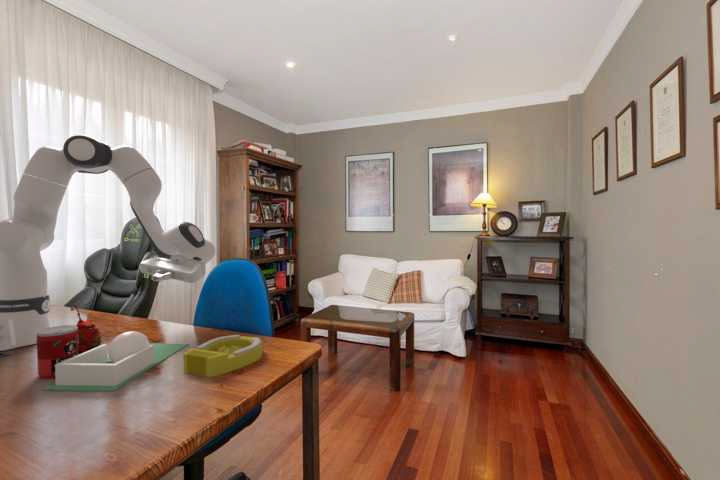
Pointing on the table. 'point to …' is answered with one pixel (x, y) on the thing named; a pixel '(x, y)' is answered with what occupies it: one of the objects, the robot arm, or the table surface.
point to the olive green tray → (222, 355)
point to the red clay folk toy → (87, 334)
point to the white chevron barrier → (101, 367)
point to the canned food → (55, 348)
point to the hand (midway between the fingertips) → (155, 278)
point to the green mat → (160, 354)
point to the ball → (126, 345)
